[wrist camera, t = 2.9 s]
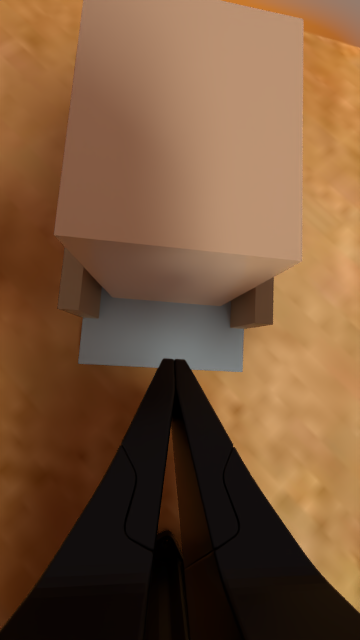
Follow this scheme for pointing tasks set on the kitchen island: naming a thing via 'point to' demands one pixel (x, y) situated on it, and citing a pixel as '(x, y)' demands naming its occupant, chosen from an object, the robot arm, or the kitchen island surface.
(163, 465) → the robot arm
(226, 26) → the block
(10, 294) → the kitchen island surface
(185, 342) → the chute
